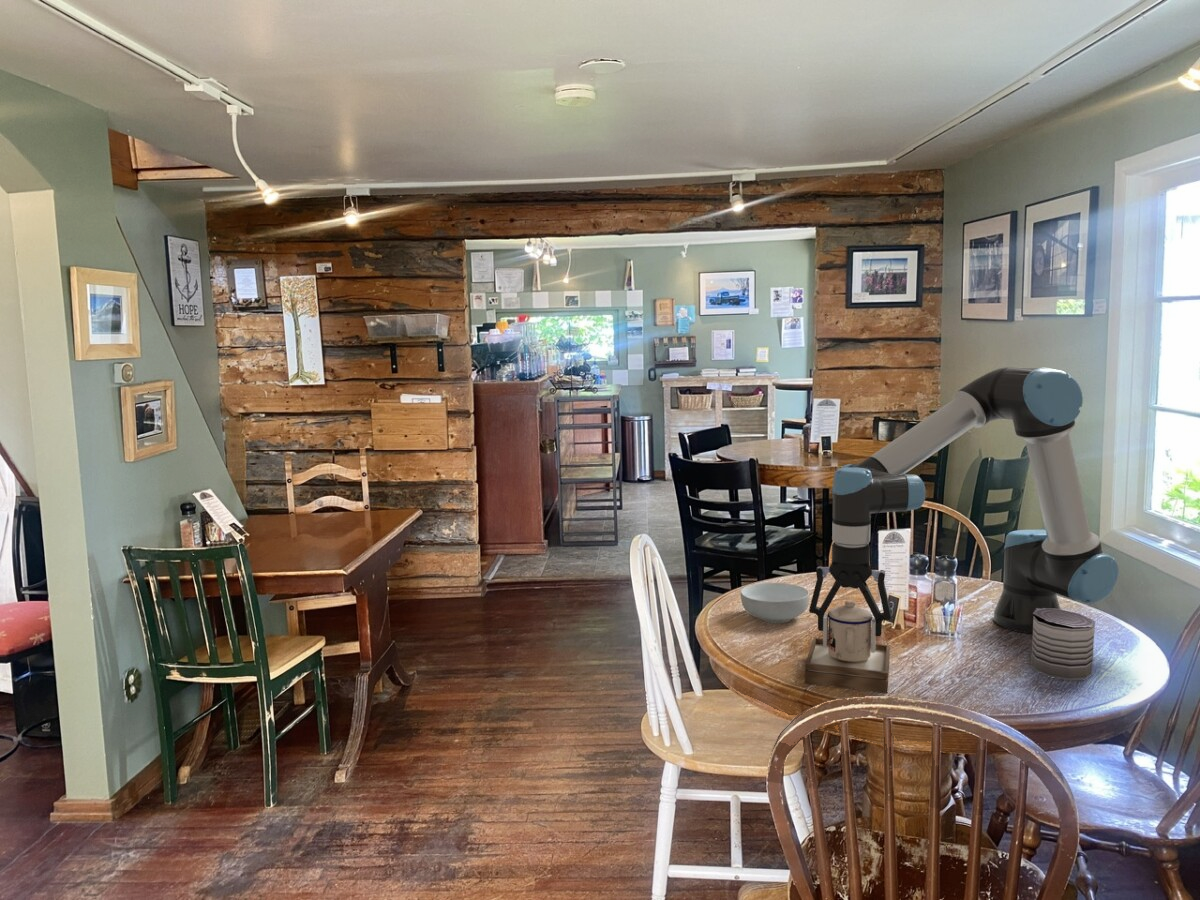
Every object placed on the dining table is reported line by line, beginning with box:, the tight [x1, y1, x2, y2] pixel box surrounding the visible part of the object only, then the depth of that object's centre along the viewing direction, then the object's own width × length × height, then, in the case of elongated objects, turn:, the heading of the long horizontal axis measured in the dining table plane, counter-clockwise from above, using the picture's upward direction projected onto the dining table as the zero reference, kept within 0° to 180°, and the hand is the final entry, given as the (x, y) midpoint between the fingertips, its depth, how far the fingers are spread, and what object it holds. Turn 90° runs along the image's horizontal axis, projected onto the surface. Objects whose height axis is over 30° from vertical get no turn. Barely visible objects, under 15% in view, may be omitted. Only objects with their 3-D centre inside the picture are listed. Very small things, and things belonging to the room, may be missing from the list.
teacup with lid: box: [827, 599, 874, 662], centre depth 179 cm, size 12×9×12 cm
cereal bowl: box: [740, 581, 810, 624], centre depth 215 cm, size 17×17×7 cm
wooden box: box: [804, 637, 891, 694], centre depth 180 cm, size 16×16×4 cm
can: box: [1030, 608, 1096, 681], centre depth 179 cm, size 11×11×12 cm
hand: (849, 647), depth 179 cm, fingers closed on teacup with lid, 9 cm apart
